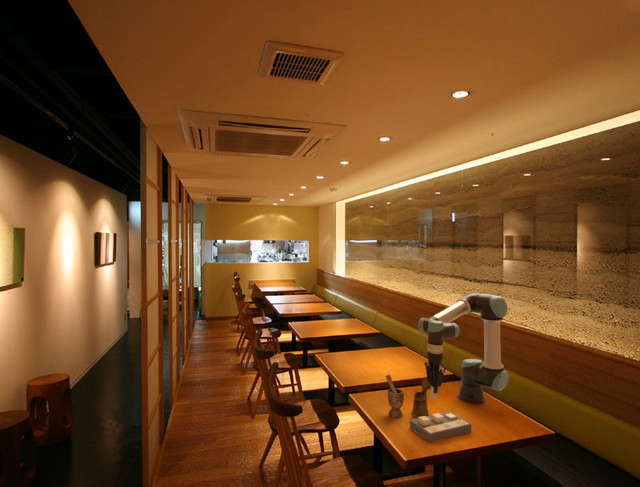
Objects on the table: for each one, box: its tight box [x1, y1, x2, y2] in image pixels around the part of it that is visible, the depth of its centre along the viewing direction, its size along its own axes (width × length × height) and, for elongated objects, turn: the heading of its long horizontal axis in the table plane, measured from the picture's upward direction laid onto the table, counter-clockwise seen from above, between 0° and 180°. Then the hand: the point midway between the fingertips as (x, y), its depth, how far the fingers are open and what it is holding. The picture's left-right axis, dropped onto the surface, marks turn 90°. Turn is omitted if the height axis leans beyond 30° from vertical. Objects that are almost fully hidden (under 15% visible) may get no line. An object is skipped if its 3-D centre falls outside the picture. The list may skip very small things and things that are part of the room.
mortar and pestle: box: [385, 374, 405, 419], centre depth 207 cm, size 12×9×20 cm
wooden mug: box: [411, 377, 430, 418], centre depth 208 cm, size 9×14×18 cm, turn 134°
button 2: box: [445, 412, 458, 420], centre depth 194 cm, size 4×4×4 cm
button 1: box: [418, 416, 430, 426], centre depth 188 cm, size 4×4×4 cm
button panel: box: [409, 411, 472, 443], centre depth 189 cm, size 26×15×4 cm, turn 113°
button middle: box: [431, 412, 444, 423], centre depth 191 cm, size 4×4×4 cm
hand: (433, 398), depth 190 cm, fingers closed
